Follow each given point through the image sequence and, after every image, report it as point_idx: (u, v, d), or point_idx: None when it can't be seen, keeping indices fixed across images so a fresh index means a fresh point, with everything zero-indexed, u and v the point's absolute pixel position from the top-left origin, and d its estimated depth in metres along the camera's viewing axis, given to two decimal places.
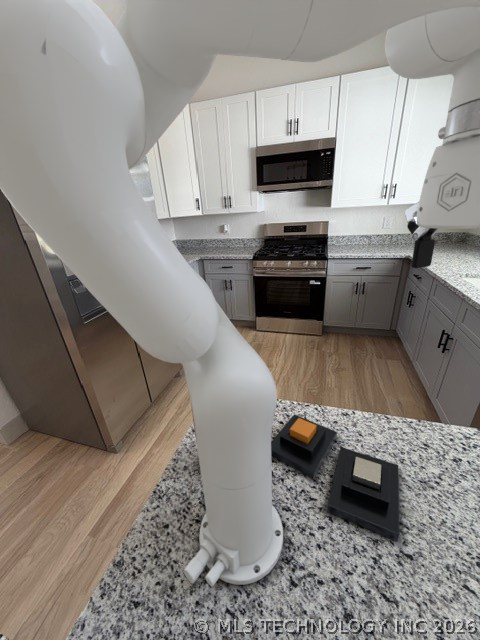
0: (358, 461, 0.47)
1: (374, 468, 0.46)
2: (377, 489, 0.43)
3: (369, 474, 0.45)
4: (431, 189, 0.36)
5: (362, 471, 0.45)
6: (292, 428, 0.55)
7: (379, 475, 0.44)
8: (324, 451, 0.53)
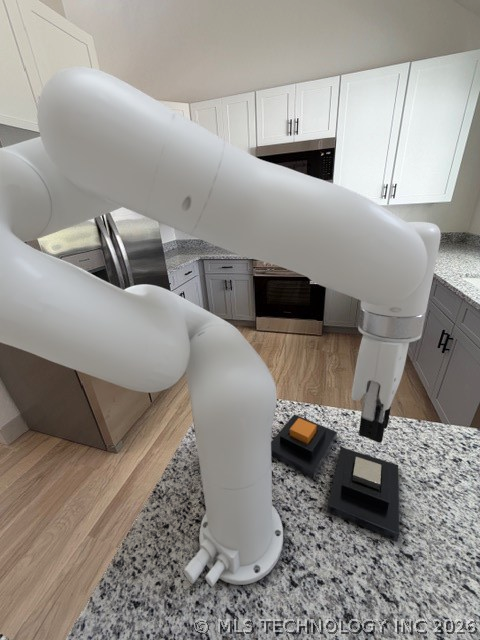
0: (358, 461, 0.47)
1: (374, 468, 0.46)
2: (377, 489, 0.43)
3: (369, 474, 0.45)
4: None
5: (362, 471, 0.45)
6: (292, 428, 0.55)
7: (379, 475, 0.44)
8: (324, 451, 0.53)
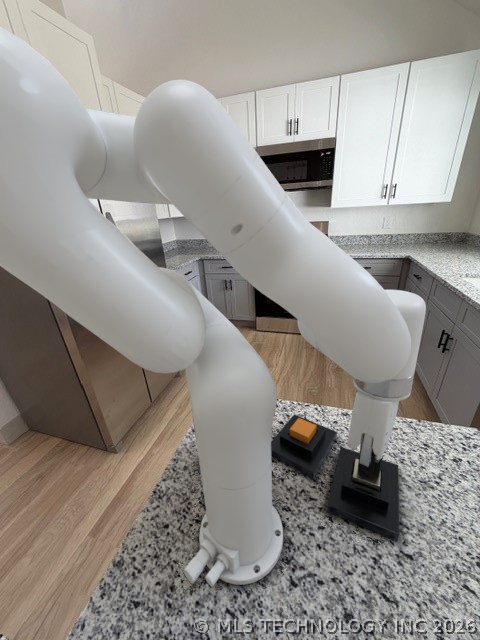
0: (357, 463, 0.47)
1: None
2: (377, 491, 0.44)
3: (369, 476, 0.45)
4: None
5: (361, 473, 0.45)
6: (292, 428, 0.55)
7: (379, 477, 0.44)
8: (324, 451, 0.53)
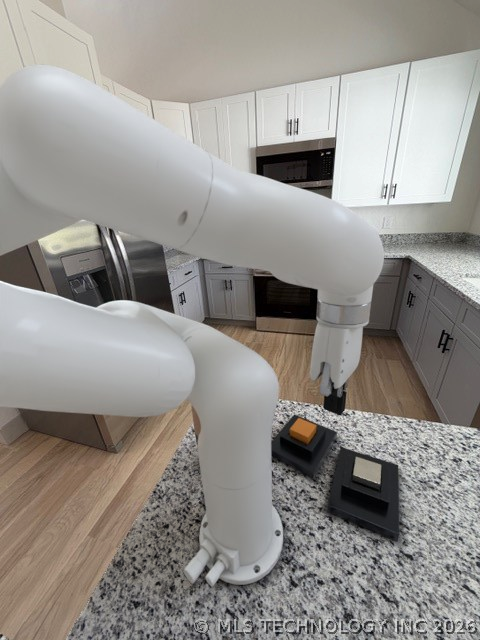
0: (358, 461, 0.47)
1: (374, 468, 0.46)
2: (377, 489, 0.43)
3: (369, 474, 0.45)
4: None
5: (362, 471, 0.45)
6: (292, 428, 0.55)
7: (379, 475, 0.44)
8: (324, 451, 0.53)
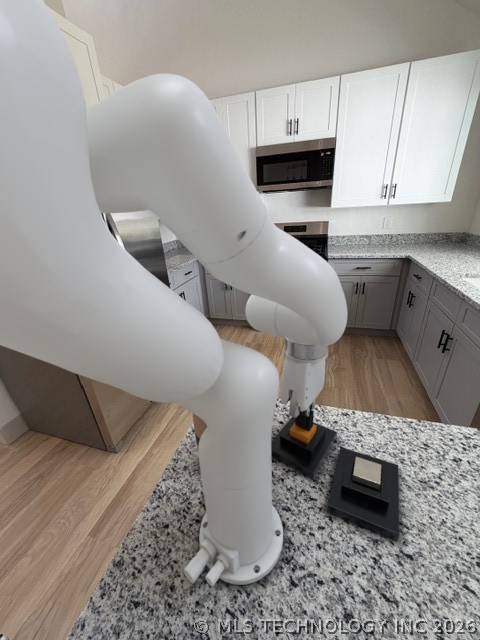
0: (358, 461, 0.47)
1: (374, 468, 0.46)
2: (377, 489, 0.43)
3: (369, 474, 0.45)
4: None
5: (362, 471, 0.45)
6: (292, 428, 0.55)
7: (379, 475, 0.44)
8: (324, 451, 0.53)
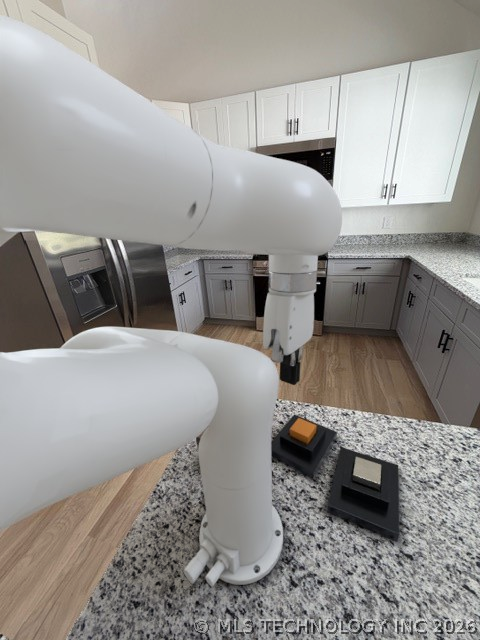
0: (358, 461, 0.47)
1: (374, 468, 0.46)
2: (377, 489, 0.43)
3: (369, 474, 0.45)
4: None
5: (362, 471, 0.45)
6: (292, 428, 0.55)
7: (379, 475, 0.44)
8: (324, 451, 0.53)
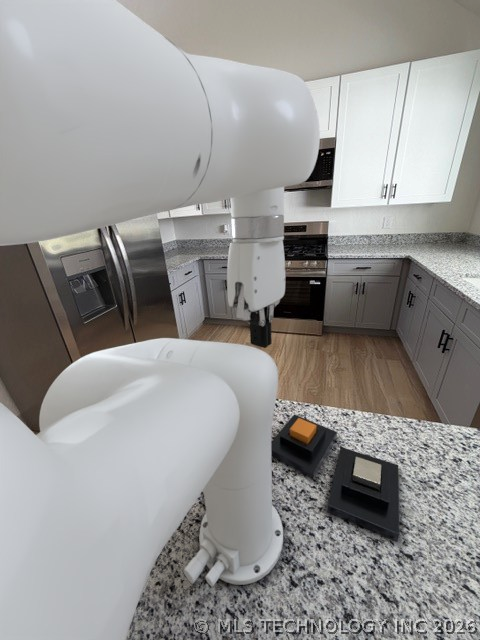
0: (358, 461, 0.47)
1: (374, 468, 0.46)
2: (377, 489, 0.43)
3: (369, 474, 0.45)
4: None
5: (362, 471, 0.45)
6: (292, 428, 0.55)
7: (379, 475, 0.44)
8: (324, 451, 0.53)
